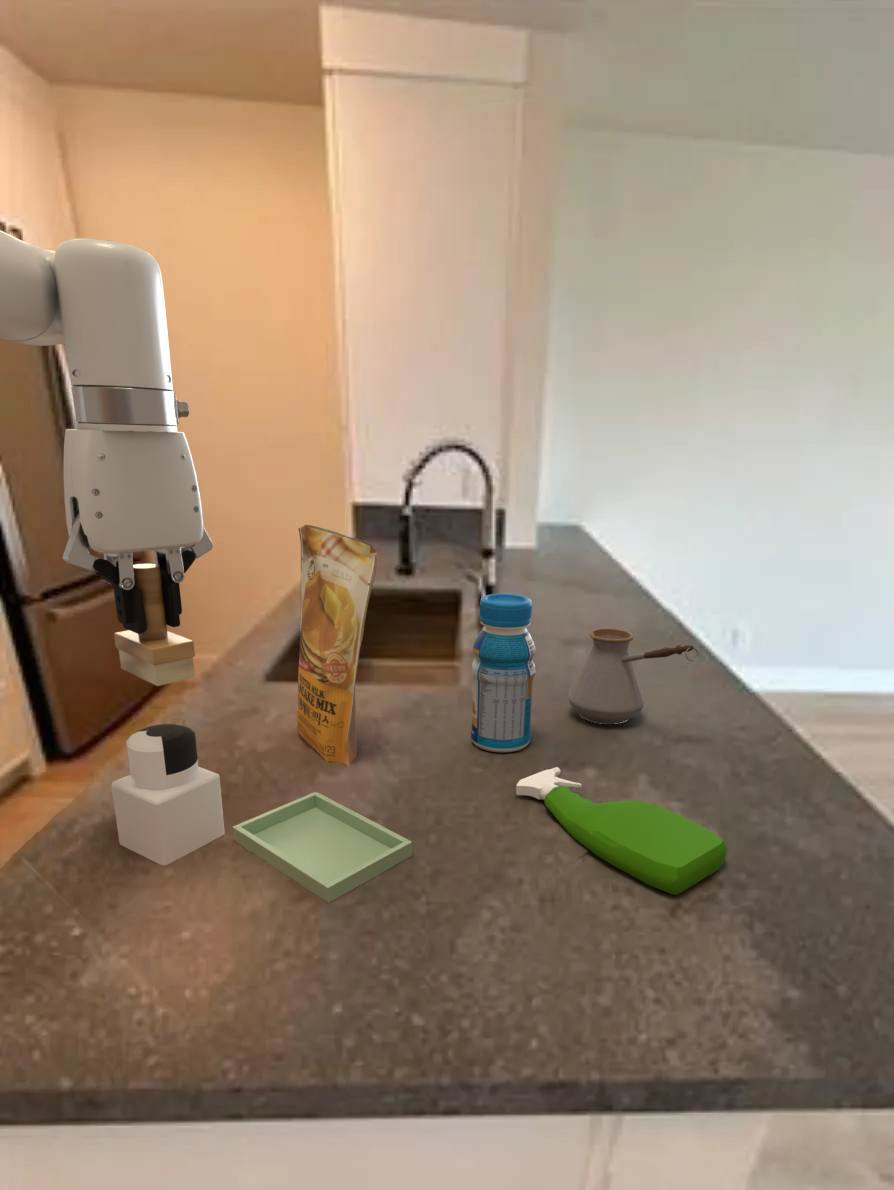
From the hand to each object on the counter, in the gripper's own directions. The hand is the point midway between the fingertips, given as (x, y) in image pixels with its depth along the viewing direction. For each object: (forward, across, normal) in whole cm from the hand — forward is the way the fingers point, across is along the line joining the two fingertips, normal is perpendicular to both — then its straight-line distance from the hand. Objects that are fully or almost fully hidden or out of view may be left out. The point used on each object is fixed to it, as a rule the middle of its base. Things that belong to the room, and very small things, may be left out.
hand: (151, 625), depth 66 cm
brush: (+5, 0, 0) cm, 5 cm away
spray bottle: (+23, -32, +31) cm, 50 cm away
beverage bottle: (+23, -42, +8) cm, 48 cm away
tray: (+23, -9, +12) cm, 27 cm away
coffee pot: (+23, -59, +18) cm, 65 cm away
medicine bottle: (+23, 0, 0) cm, 23 cm away
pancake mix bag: (+23, -26, -8) cm, 35 cm away
